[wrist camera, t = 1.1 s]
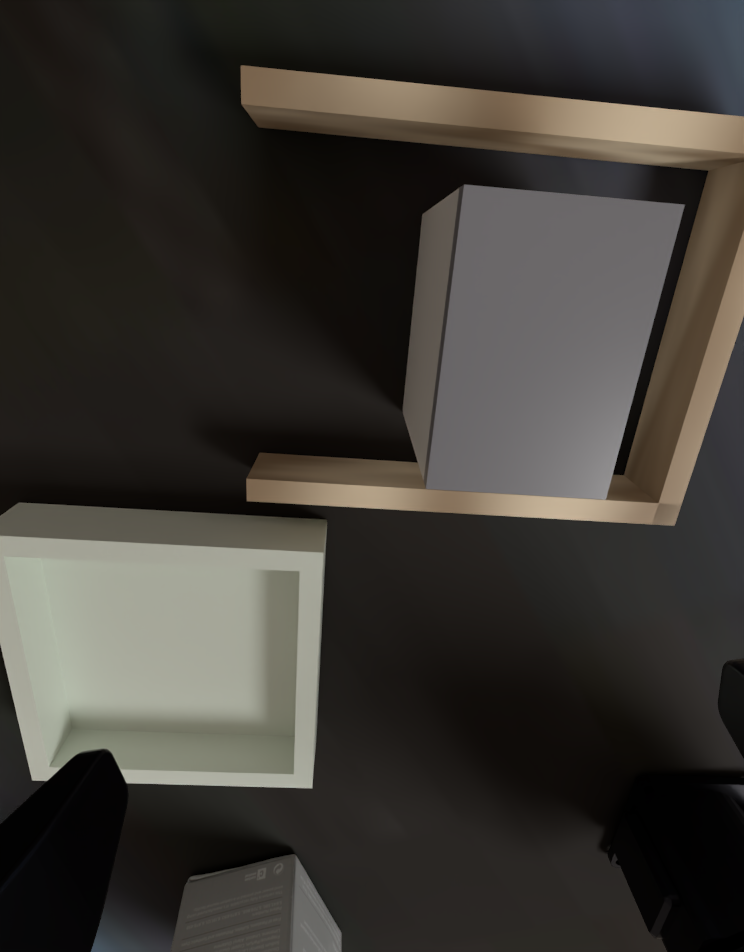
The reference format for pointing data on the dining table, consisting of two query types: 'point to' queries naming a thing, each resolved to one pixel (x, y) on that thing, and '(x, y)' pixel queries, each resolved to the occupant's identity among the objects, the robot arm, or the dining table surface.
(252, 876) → the skincare box
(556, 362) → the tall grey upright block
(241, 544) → the tray
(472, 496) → the frame
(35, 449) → the dining table surface
